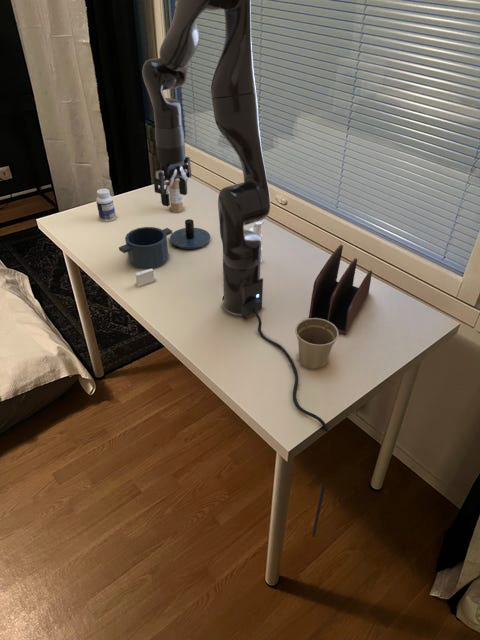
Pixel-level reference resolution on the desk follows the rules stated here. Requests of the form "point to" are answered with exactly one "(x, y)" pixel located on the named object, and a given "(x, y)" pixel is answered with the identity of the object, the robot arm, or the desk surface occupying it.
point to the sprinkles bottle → (176, 197)
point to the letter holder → (338, 294)
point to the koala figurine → (257, 230)
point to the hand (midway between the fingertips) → (175, 199)
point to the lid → (190, 236)
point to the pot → (146, 247)
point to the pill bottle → (105, 205)
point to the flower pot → (315, 341)
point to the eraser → (144, 277)
